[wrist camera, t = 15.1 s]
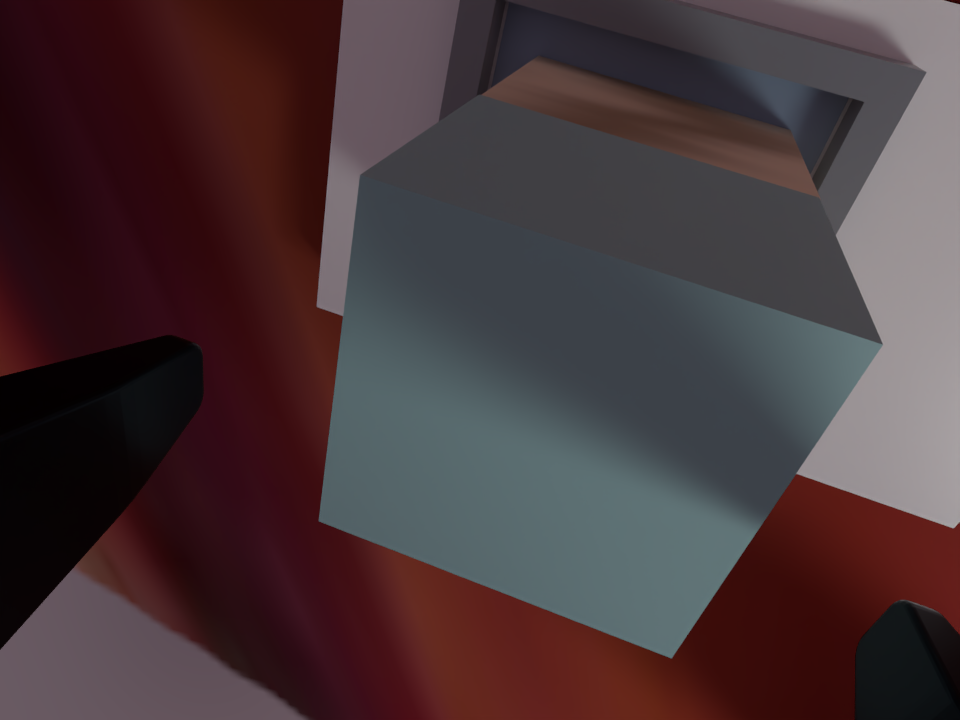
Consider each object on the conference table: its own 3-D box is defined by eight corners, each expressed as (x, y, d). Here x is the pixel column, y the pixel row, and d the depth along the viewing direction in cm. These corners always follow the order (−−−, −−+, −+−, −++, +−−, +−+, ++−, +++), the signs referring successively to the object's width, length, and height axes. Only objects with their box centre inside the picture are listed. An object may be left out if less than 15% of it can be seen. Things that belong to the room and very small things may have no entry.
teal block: (819, 197, 11) (883, 344, 7) (681, 457, 15) (671, 658, 11) (479, 94, 12) (360, 175, 8) (422, 365, 15) (318, 521, 11)
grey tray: (1268, 85, 14) (1383, 115, 12) (934, 482, 21) (964, 554, 19) (391, -144, 17) (336, -159, 14) (344, 281, 23) (301, 320, 21)
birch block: (790, 130, 15) (820, 199, 11) (687, 345, 19) (682, 458, 15) (538, 55, 16) (481, 95, 12) (483, 276, 19) (423, 366, 15)
